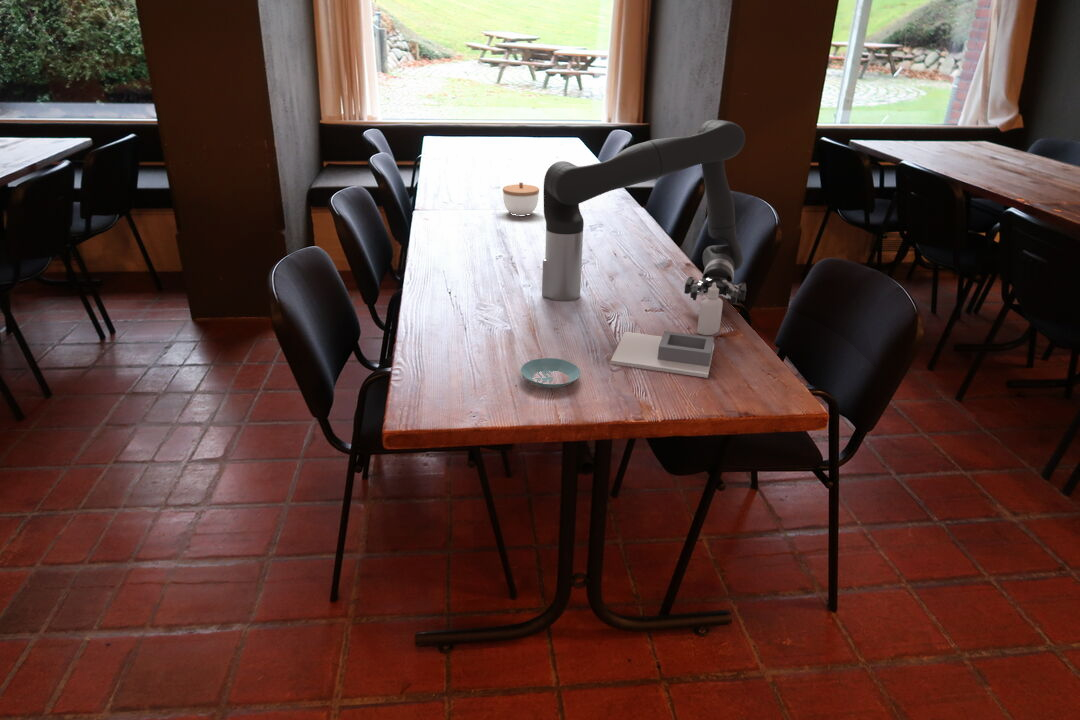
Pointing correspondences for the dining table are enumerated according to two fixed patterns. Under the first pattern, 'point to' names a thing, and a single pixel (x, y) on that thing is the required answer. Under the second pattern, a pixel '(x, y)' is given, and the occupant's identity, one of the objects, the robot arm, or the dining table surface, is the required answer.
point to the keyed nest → (666, 353)
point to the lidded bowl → (520, 198)
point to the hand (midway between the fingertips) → (713, 298)
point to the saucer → (549, 365)
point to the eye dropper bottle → (710, 312)
